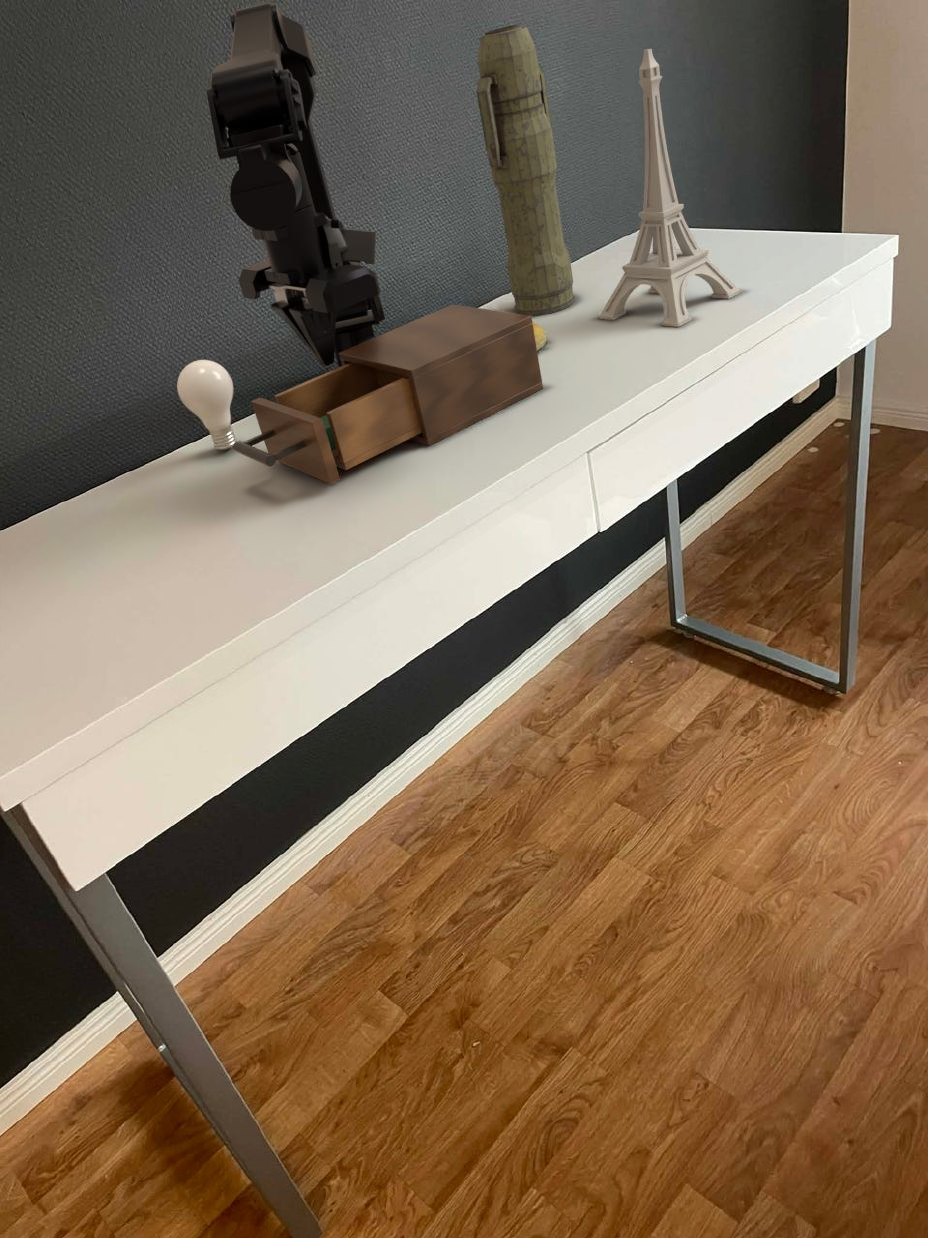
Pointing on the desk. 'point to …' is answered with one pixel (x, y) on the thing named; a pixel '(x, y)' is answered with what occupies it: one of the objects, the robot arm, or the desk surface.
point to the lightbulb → (209, 399)
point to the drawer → (334, 421)
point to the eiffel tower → (663, 226)
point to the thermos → (524, 169)
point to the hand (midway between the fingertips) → (328, 364)
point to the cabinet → (457, 365)
